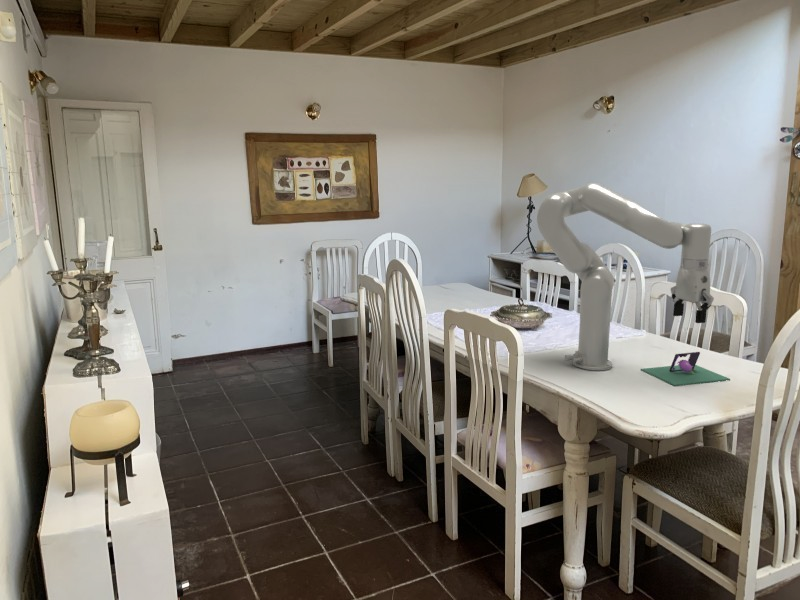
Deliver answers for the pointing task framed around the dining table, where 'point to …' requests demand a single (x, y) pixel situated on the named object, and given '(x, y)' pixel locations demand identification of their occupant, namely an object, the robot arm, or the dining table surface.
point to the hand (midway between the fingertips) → (688, 319)
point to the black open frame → (685, 362)
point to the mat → (684, 375)
